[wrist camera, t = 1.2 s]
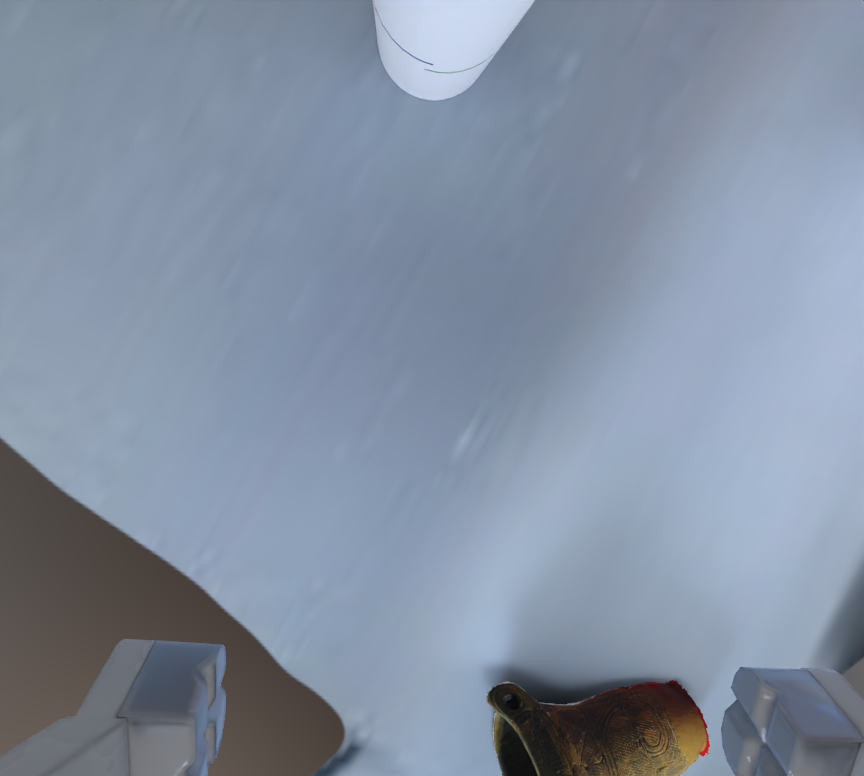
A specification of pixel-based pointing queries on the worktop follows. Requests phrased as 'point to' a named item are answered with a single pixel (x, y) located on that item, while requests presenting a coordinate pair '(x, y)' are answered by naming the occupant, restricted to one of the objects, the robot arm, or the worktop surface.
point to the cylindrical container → (442, 41)
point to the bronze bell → (598, 732)
